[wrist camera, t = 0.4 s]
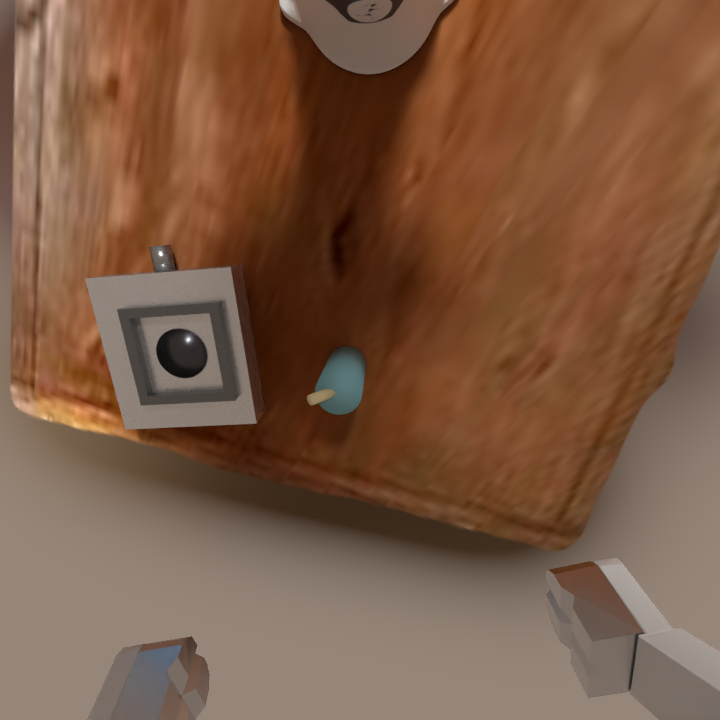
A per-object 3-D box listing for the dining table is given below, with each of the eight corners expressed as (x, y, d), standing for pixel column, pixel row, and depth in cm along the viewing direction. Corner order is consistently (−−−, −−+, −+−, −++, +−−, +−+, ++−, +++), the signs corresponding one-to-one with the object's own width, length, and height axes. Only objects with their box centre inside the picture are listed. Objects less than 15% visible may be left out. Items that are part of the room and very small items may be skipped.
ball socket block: (100, 251, 53) (70, 253, 48) (238, 239, 52) (222, 240, 47) (142, 416, 60) (119, 433, 55) (265, 410, 59) (253, 427, 54)
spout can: (320, 347, 55) (302, 378, 44) (364, 345, 55) (358, 375, 43) (324, 384, 57) (308, 424, 45) (367, 382, 56) (362, 421, 45)
